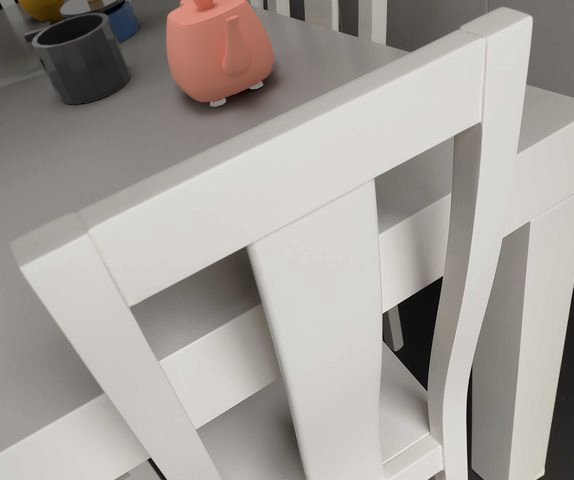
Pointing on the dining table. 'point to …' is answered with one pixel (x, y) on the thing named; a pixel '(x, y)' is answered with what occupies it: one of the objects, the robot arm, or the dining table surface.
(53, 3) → the apple
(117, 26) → the pan
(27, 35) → the pan handle
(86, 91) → the pot
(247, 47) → the teapot
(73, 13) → the lid
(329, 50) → the dining table surface
